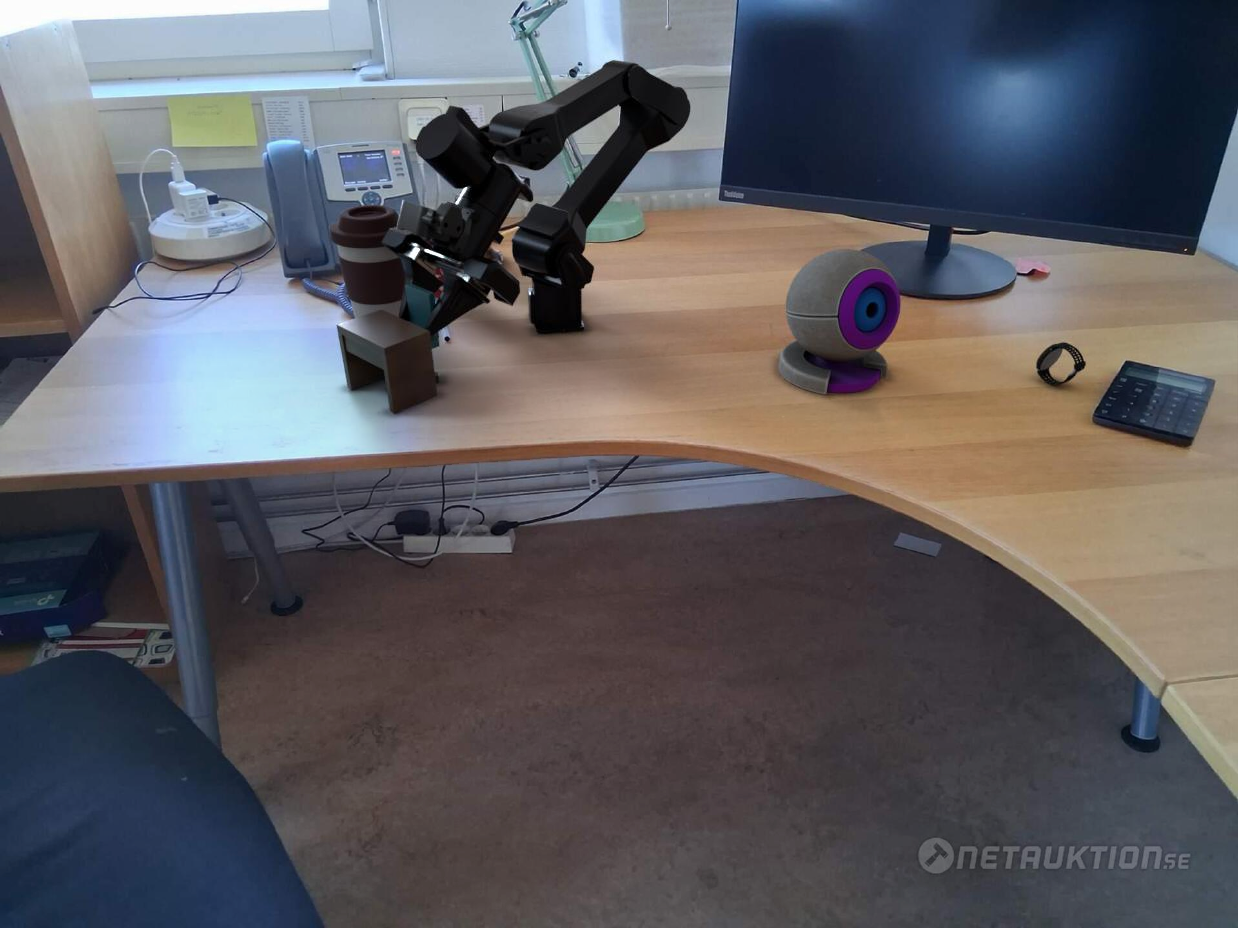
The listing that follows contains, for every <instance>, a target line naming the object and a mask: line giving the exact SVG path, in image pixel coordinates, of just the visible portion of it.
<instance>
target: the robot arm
mask: <svg viewBox="0 0 1238 928" xmlns="http://www.w3.org/2000/svg"><path fill="white" fill-rule="evenodd" d="M616 107H619V112H618V126H617V127H616V129H615V130H614V131H613V133H612V134H611V135H610V137H609V138H608V139H607V140H606V141H605V143H604V144H603V145H602V146H601V148H600V149H599V150H598V152H596V154H595V155H594V156H593V158H592V159H591V160H590V161H589V163H588V164H587V165H586V166H585V167H584V168H583V170H582V171H581V173H580V174H578V176H577V177H576V178H575V180H574V181H573V183H572V184H571V185H570V187H569V188H567V190H566V191H565V193H564V194H563V195H562V196H561V198H560V199H559V200H558V201H557V202H556V203H555V204H553V205H546V204H543V203H539V202H536V203H534V204H533V205H532V206H531V207H530V209H529V210H528V212H527V213H526V214H525V216H524V217H523V219H522V220H520V221H518V222H517V223H516V224H515V225H516V227H518V228H517V229H516V230H515V232H514V234H513V236H512V238H511V252H512V258H513V260H514V262H515V263H516V264H517V266H518V269H519V271H520V275H521V276H522V277H527V278H530V279H531V287H528V288H527V306H528V307H527V308H528V318H529V322H530V324H532V325H533V327H534V331H535V332H536V333H537V334H545V333H559V332H561V333H562V332H572V331H573V332H574V331H575V332H576V331H583V330H585V323H584V321H583V307H582V306H583V300H582V299H583V298H582V297H583V296H582V294H583V293H582V292H583V291H582V290H583V289H585V286H586V285H589V284H591V283H592V281H593V276H594V272H595V265H593V264H592V262H590V261H589V260H588V259H587V258H586V257H585V256H584V255H583V254H584V252H585V250H586V244H587V243H586V242H587V231H588V228H589V226H590V225H591V224H592V223H593V222H594V220H595V218H597V216H598V215H599V214H600V212H601V211H602V210H603V209H604V207H606V205H607V204H608V203H609V201H610V200H611V199H612V197H613V196H614V194H616V192H617V191H618V189H619V188H620V187H621V186H622V184H623V183H624V182H625V180H626V179H627V178H628V177H629V175H630V174H631V173H632V171H633V170H634V169H635V168H636V167H637V165H638V164H639V162H640V161H641V160H642V159H643V158H644V156H645V155H646V153H648V152H649V151H650V150H653V149H655V148H658V147H660V146H662V145H664V144H666V143H669V142H670V141H671V140H672V139H673V138H674V137H675V136H676V135H678V133H680V131H682V129H684V127H685V126H686V124H687V123H688V120H689V119H690V118H689V117H690V114H691V102H690V100H689V98H688V94H687V92H686V90H685V89H684V88H683V87H681V86H676V85H672V84H671V83H669V82H667V81H665V80H663V79H662V78H659V77H658V76H656V75H654V74H652V73H650V72H649V71H648V70H647V69H645V68H644V67H643V66H640V65H639V64H638V63H636V62H630V61H623V60H618V59H617V60H616V59H613V60H612V59H611V60H609V61H606V62H605V63H604V64H603V65H602V66H601V68H599V69H598V70H596V71H594V72H592V73H591V74H589V75H587V76H586V77H584V78H583V79H580V80H579V81H577V82H576V83H574V84H572V85H571V86H569V87H566V88H565V89H563V90H562V91H560V92H558V93H557V94H555V95H553V96H552V97H550V98H548V99H547V100H545V101H542V102H539V103H532V104H525V105H518V106H515V107H512V108H509V109H505V110H502V111H499V112H497V113H496V114H495V115H494V116H493V117H492V118H491V119H490V120H489V123H487V124H484V125H482V126H480V127H478V125H477V124H476V123H475V122H474V121H473V119H472V118H471V116H470V114H469V113H468V112H467V111H466V110H465V109H464V108H463V107H461V106H455V105H449V106H448V108H446V111H445V113H442V114H440V115H436V116H435V117H434V118H433V119H431V120H430V121H428V123H427V124H426V125H424V126H422V127H421V129H420V130H419V132H418V135H417V136H416V139H415V146H414V147H415V152H416V154H417V155H418V157H419V158H421V160H423V162H425V163H426V164H427V165H428V166H429V167H430V168H431V169H433V171H435V173H437V174H438V175H439V176H440V177H441V178H442V179H443V180H444V181H445V182H446V183H447V184H448V185H449V186H450V187H452V188H453V189H457V190H461V191H462V193H461V195H460V197H459V198H458V200H457V202H456V203H455V202H450V201H448V200H447V201H446V202H445V203H444V202H441V203H440V204H439V206H438V207H437V208H436V209H435V208H431V207H429V206H425V205H422V204H418V203H415V202H411V201H408V200H406V199H402V201H401V206H400V210H399V214H398V215H399V219H398V223H397V227H395V228H391V229H389V230H388V232H387V234H386V235H385V237H384V239H383V240H382V244H383V245H384V246H386V247H387V248H388V249H390V250H391V251H392V252H393V253H395V254H396V255H397V256H398V259H399V260H401V261H402V264H403V268H404V271H405V281H404V289H403V294H402V300H401V305H400V311H399V316H398V317H399V318H401V319H404V320H406V321H408V322H409V321H410V319H409V311H408V303H407V296H406V288H405V285H407V284H410V283H411V284H413V285H416V286H418V287H421V288H423V289H425V290H428V291H430V292H433V293H434V294H435V293H436V292H437V291H438V289H439V288H440V287H441V286H442V285H444V287H443V291H442V293H441V295H440V297H439V299H438V301H436V302H435V304H436V305H435V307H434V309H433V311H432V313H431V315H430V317H429V319H428V321H427V323H426V326H425V328H424V329H426V330H428V331H430V337H431V336H433V335H434V334H436V333H437V332H439V333H440V332H441V331H442V330H444V329H446V327H448V326H449V325H450V324H453V323H454V322H455V321H457V320H458V319H459V318H461V317H462V316H464V315H466V314H468V313H469V312H471V311H472V310H475V309H477V308H478V307H480V306H481V305H483V304H485V305H488V304H490V303H491V299H490V298H488V296H489V294H490V292H491V291H492V293H493V299H495V300H496V301H497V302H500V303H503V304H505V305H508V306H511V307H513V306H514V304H515V302H516V301H517V299H518V297H519V295H520V293H521V283H520V282H521V281H520V280H519V279H518V278H517V277H516V276H515V275H513V274H512V273H511V272H510V271H509V270H507V268H505V267H504V266H503V265H500V264H499V263H498V262H497V261H494V260H491V259H488V258H486V257H484V256H485V255H486V253H487V251H488V249H489V247H490V246H492V244H493V243H494V244H497V245H501V244H502V242H503V240H504V238H505V236H504V235H502V233H500V230H501V228H502V227H503V224H504V223H505V221H506V219H507V218H508V216H509V214H510V212H511V211H512V208H513V207H514V205H515V204H516V201H517V200H522V201H525V202H528V203H532V202H533V201H534V192H533V189H532V187H531V178H530V177H528V176H525V175H522V174H521V175H520V174H517V173H516V172H515V171H514V170H513V169H512V168H511V167H510V166H515V167H517V168H522V169H526V170H530V171H534V172H535V171H540V170H543V169H545V168H546V167H547V166H548V165H549V164H550V163H552V162H553V160H555V159H556V158H557V157H558V156H559V155H560V154H561V153H562V152H563V150H564V147H565V144H566V141H567V140H568V139H569V137H571V136H572V135H573V134H574V133H576V132H578V131H580V130H581V129H583V128H585V127H586V126H588V125H589V124H591V123H592V122H594V121H596V120H598V119H599V118H601V117H603V115H605V114H607V113H608V112H610V111H611V110H613V109H614V108H616ZM497 161H498V162H497ZM509 165H510V166H509ZM454 203H455V204H454ZM427 242H428V243H427ZM429 243H430V244H431V245H433V247H432V246H431V245H430V244H429ZM443 261H446V262H443ZM456 265H457V266H459V267H457V266H456ZM437 267H438V268H440V269H443V282H442V281H441V280H440V279H438V278H437V277H436V276H434V274H435V272H436V269H437ZM445 270H446V271H445Z"/></svg>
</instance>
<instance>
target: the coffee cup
mask: <svg viewBox="0 0 1238 928" xmlns="http://www.w3.org/2000/svg"><path fill="white" fill-rule="evenodd" d="M398 219H399V214H398V213H397V211H396V209H394V207H391V206H389V205H388V206H387V205H382V204H361V205H356V206H352V207H348V208H346V209H343V210H342V211H341V212H340V213H339V217H338V219H337V220H335V221H333V222H332V223H331V224H330V225H329V227H328V230H329V231H328V232H329V237H330V240H331V242H333V244H335V245H336V246H337V250H338V253H337V258H338V262H339V266H340V269H341V274H342V278H343V283H344V286H345V291H346V295H347V297H348V299H349V300H350V304H351V308H352V313H353V316H354V319H355V318H358V317H361V316H364V315H367V314H369V313H372V312H375V311H378V310H384V311H386V312H388V313H390V314H393V315H395V316H397V317H398V316H399V311H400V305H401V300H402V294H403V289H404V281H405V271H404V268H403V264H402V261H401V260H399V259H398V256H397V255H396V254H395V253H393V252H392V251H391V250H390V249H388V248H387V247H386V246H384V245H383V244H382V240H383V239H384V237H385V235H386V234H387V232H388V230H389V229H391V228H395V227H397V223H398ZM409 322H410V321H409Z"/></svg>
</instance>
